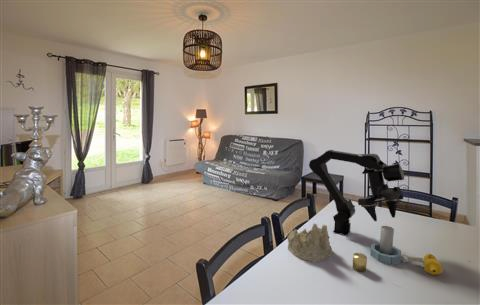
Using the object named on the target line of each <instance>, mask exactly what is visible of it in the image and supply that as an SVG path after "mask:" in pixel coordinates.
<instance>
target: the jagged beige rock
mask: <svg viewBox="0 0 480 305" xmlns="http://www.w3.org/2000/svg"><path fill="white" fill-rule="evenodd" d="M286 237H287V238H286V239H287V242H288V245H287V248H288V249H287V250H288V251H289V253H291V254H292V255H293V256H295V257H297V258H299V259H301V258H302V259H301V260H303V259H304V261H306V260H308V261H307V262H310V261H319V262H322V260H323V261H324V260H326V259H327V258H329V257H330V256H332V255H333V249H332V246H331V244H330V240H329V239H330V238H331V237H330V236H329V232H328V226H327V225H326V224H322V226H321V227H318V225H317V223H315V222H314V223H313V224H312V226H311V229H310V230H308V232H307V229H306V228H304V229H303V230H302V231H300V232H298V229H293V230H290V231H289V233H288V235H287V236H286Z"/></svg>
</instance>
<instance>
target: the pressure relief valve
mask: <svg viewBox="0 0 480 305" xmlns="http://www.w3.org/2000/svg"><path fill="white" fill-rule="evenodd" d="M423 256H424V257H416V256H408V255H406V254H403V255H402V254H401V262H404V263H408V262H415V263H421V264H423V268H424V270H425V272H426V273H428V274H431V275H433V276H437V275H440V274H442V273H443V266H442V264H441V262H440V261H438V260H437V258H436V256H435V255H434V254H431V253H426V254H425V255H423ZM405 257H406V258H407V260H404V259H403V258H405Z"/></svg>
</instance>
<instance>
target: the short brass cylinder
mask: <svg viewBox="0 0 480 305" xmlns="http://www.w3.org/2000/svg"><path fill="white" fill-rule="evenodd" d="M367 266H368V257H367V255H365V254H364V253H361V252H355V253H353V256H352V270H354V271H355V272H358V273H361V274H362V273H365V272H367Z"/></svg>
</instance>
